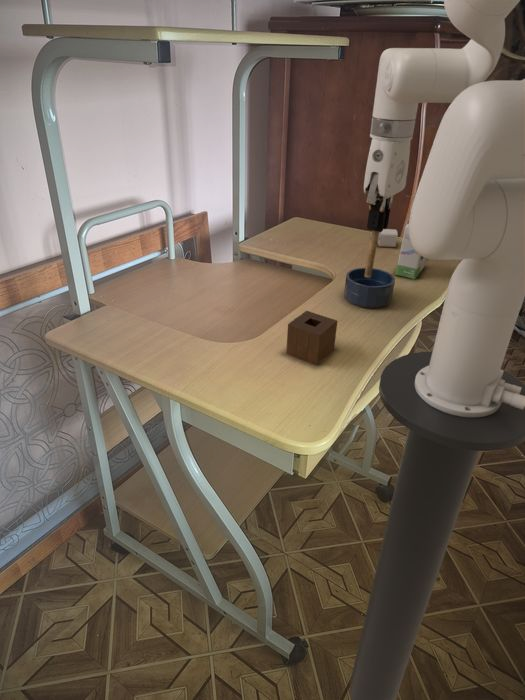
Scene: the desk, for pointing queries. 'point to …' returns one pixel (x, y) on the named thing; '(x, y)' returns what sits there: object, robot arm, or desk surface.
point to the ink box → (409, 258)
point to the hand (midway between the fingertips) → (377, 228)
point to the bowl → (369, 288)
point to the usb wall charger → (387, 238)
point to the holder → (311, 337)
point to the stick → (371, 253)
